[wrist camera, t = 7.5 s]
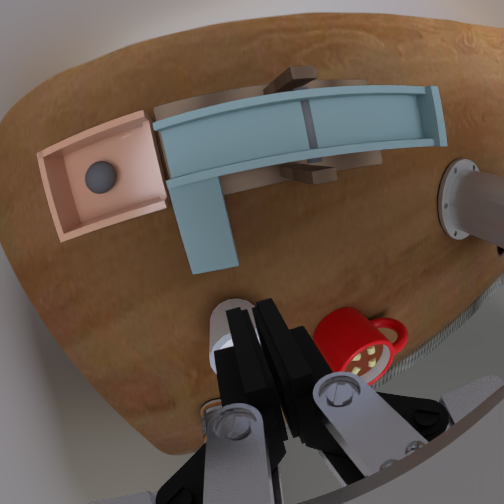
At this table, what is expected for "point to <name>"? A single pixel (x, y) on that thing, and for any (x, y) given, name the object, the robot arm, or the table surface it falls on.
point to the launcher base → (283, 171)
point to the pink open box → (126, 167)
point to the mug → (358, 343)
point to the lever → (281, 147)
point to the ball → (100, 177)
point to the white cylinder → (225, 326)
